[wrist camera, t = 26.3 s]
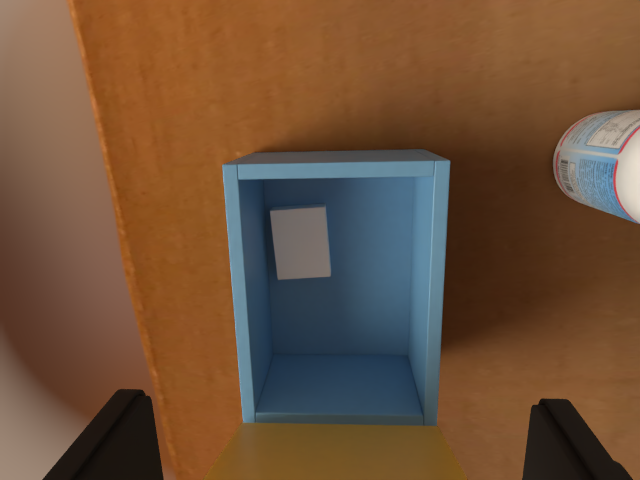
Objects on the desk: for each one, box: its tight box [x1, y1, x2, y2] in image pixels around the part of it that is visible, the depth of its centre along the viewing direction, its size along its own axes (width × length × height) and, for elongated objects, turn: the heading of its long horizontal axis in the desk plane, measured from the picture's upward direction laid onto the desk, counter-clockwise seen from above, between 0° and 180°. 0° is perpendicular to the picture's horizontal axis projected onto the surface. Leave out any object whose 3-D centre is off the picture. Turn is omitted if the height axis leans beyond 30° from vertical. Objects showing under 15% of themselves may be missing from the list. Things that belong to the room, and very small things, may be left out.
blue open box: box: [222, 149, 450, 426], centre depth 29 cm, size 16×12×8 cm
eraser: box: [270, 203, 331, 280], centre depth 31 cm, size 1×5×4 cm
